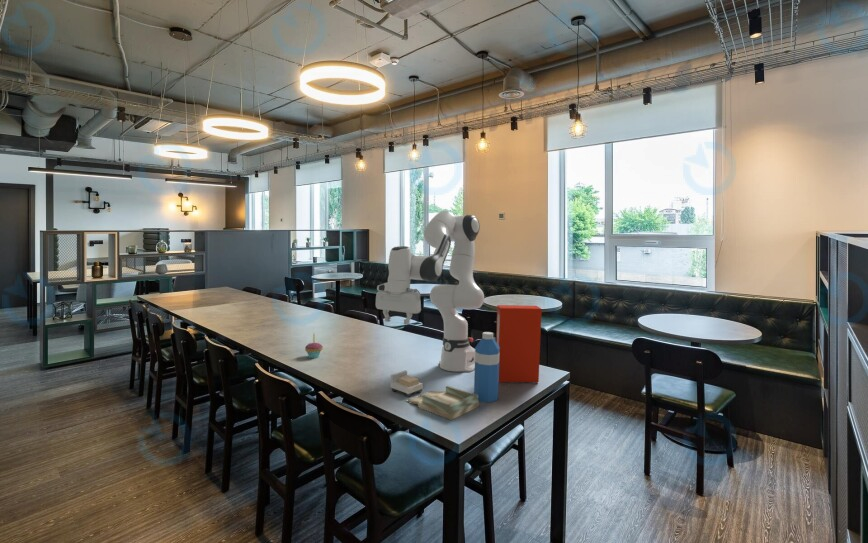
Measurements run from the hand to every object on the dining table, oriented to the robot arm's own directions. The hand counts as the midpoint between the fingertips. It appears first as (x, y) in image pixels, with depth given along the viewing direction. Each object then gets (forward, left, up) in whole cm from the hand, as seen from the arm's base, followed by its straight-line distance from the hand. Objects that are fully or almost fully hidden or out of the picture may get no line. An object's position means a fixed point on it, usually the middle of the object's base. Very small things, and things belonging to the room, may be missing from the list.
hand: (396, 322), depth 161 cm
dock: (-2, +21, -28) cm, 35 cm away
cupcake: (-3, -63, -27) cm, 69 cm away
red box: (-45, +28, -27) cm, 60 cm away
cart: (-2, +4, -27) cm, 27 cm away
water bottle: (-19, +30, -27) cm, 45 cm away
